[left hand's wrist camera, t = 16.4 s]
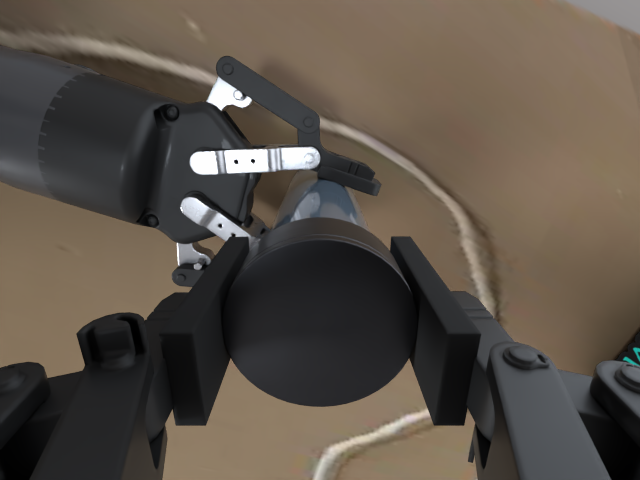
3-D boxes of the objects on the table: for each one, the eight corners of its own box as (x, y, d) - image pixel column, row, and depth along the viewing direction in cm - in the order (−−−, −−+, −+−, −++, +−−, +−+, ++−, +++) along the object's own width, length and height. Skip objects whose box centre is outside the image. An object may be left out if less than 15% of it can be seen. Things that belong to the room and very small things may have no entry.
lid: (236, 356, 13) (221, 400, 11) (239, 208, 11) (221, 229, 9) (387, 368, 13) (399, 413, 11) (416, 225, 11) (437, 249, 9)
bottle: (310, 149, 26) (294, 212, 10) (363, 184, 27) (432, 298, 10) (277, 202, 28) (212, 338, 11) (328, 234, 29) (340, 404, 12)
